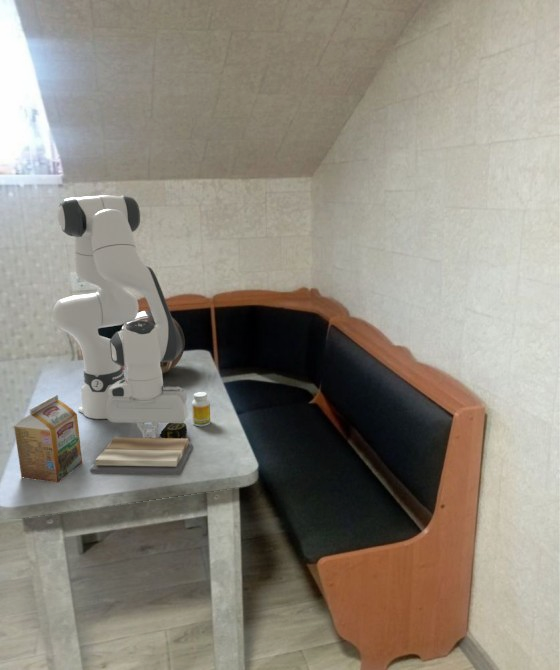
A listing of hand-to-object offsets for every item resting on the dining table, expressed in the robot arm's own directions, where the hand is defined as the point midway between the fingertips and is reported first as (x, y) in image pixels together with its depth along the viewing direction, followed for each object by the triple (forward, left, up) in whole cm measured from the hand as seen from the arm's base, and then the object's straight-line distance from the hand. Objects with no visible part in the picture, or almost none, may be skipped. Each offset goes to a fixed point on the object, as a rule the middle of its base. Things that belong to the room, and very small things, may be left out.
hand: (149, 437), depth 148 cm
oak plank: (-9, -3, -7) cm, 12 cm away
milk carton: (+3, -25, -9) cm, 27 cm away
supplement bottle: (-28, +8, -9) cm, 31 cm away
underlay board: (-4, -3, -8) cm, 10 cm away
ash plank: (-1, -3, -7) cm, 8 cm away
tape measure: (-18, +1, -9) cm, 20 cm away
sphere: (-75, -20, -9) cm, 79 cm away
